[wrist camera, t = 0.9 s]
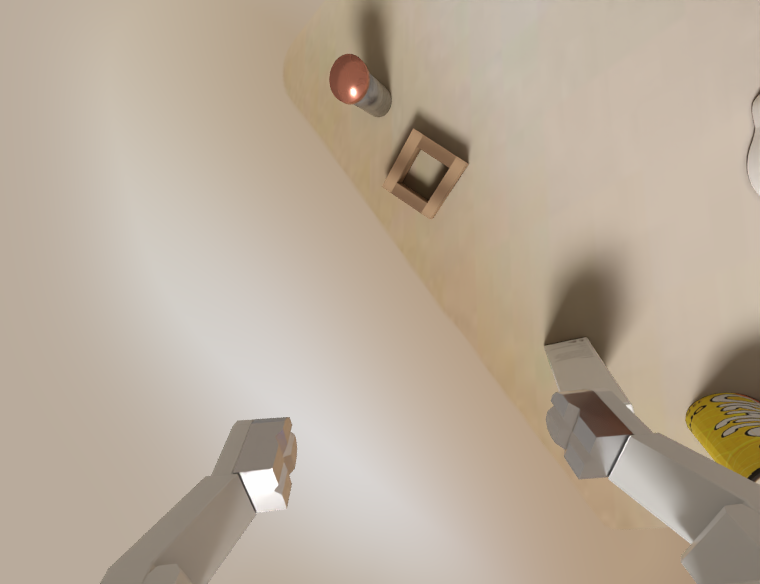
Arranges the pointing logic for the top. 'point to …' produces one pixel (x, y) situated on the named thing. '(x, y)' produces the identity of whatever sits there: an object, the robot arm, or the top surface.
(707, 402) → the beverage can
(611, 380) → the skincare box
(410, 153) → the collar
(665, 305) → the top surface
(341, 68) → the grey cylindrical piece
